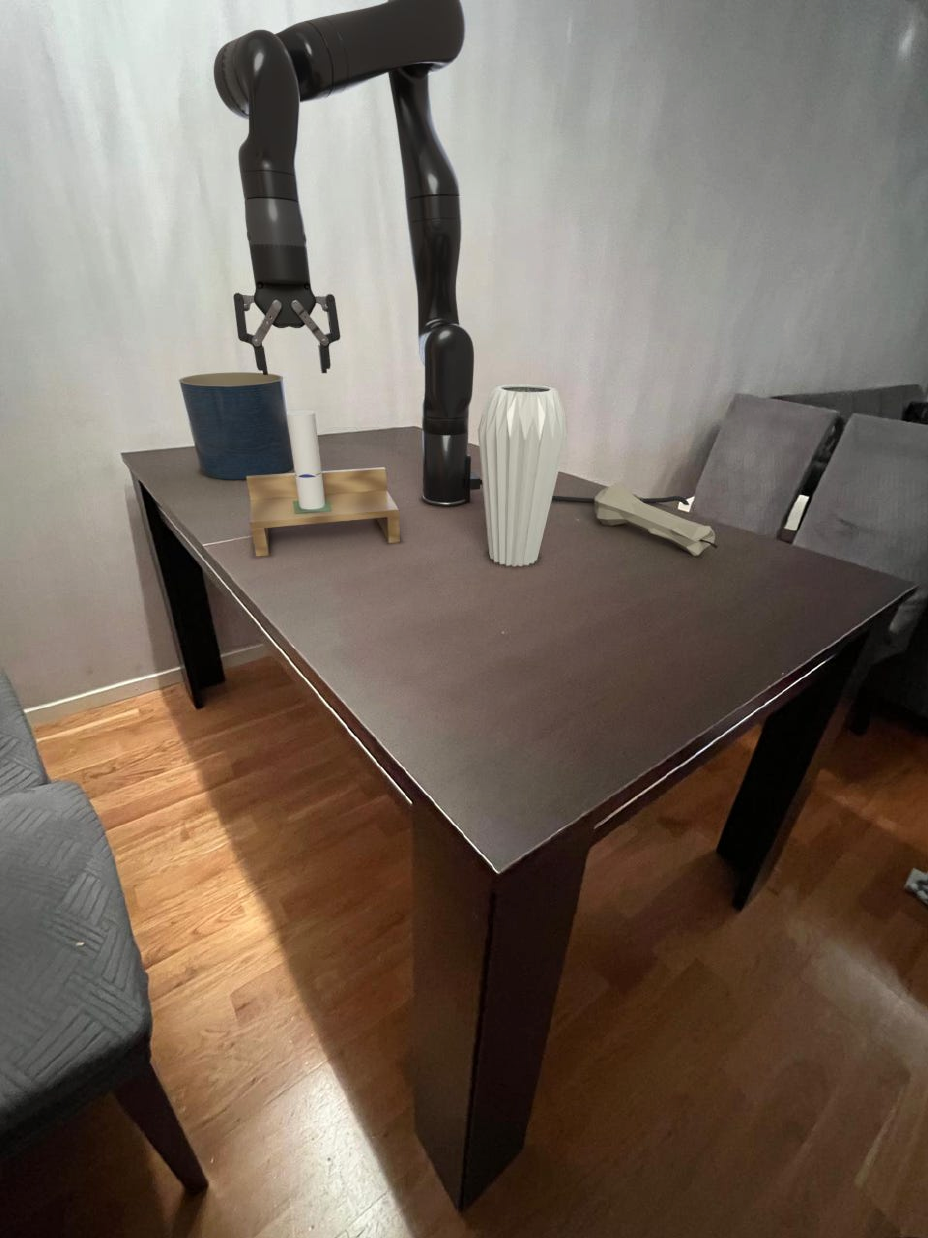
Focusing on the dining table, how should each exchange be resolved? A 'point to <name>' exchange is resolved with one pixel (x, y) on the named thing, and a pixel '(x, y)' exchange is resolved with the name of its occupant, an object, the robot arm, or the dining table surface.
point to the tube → (306, 458)
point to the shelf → (344, 501)
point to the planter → (238, 423)
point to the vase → (520, 467)
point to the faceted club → (651, 519)
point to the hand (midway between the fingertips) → (295, 373)
